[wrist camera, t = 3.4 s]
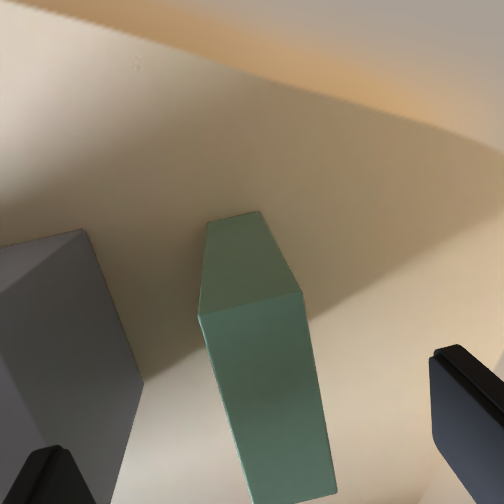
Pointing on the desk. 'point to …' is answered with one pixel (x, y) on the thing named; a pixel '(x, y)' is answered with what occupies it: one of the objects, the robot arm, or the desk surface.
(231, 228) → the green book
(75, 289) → the grey blocks
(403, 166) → the desk surface
